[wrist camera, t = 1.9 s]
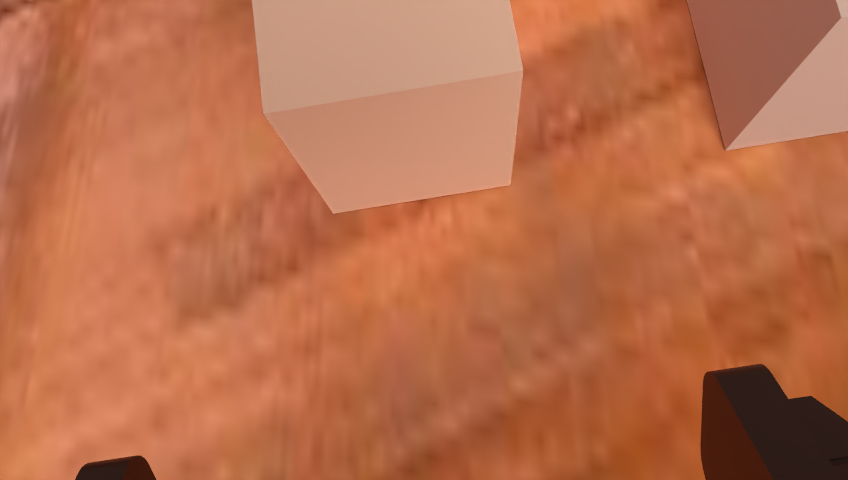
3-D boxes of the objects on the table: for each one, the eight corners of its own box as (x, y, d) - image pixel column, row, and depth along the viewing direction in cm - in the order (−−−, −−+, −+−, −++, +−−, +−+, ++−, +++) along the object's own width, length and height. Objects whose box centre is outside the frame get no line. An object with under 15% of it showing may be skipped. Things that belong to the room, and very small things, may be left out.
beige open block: (333, 213, 27) (262, 113, 19) (314, 52, 29) (241, -109, 20) (510, 185, 27) (523, 70, 18) (481, 24, 29) (480, -151, 20)
